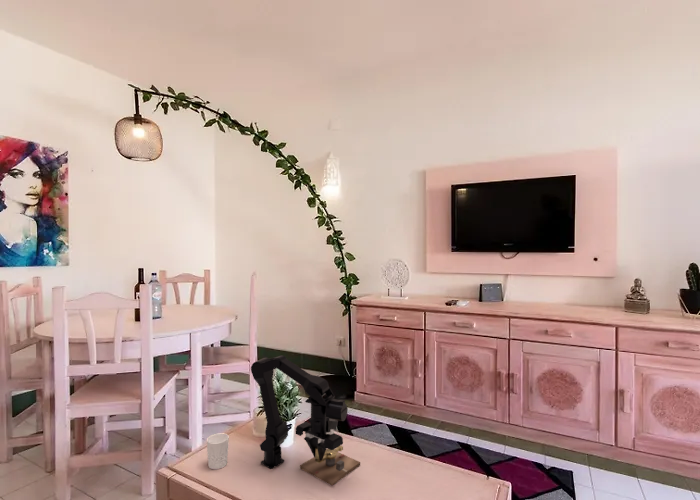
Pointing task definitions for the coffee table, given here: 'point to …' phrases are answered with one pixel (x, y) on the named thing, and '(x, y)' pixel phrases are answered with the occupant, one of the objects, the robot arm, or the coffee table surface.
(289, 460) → the coffee table surface
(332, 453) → the crank handle
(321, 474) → the post base
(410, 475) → the coffee table surface
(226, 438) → the white cup
